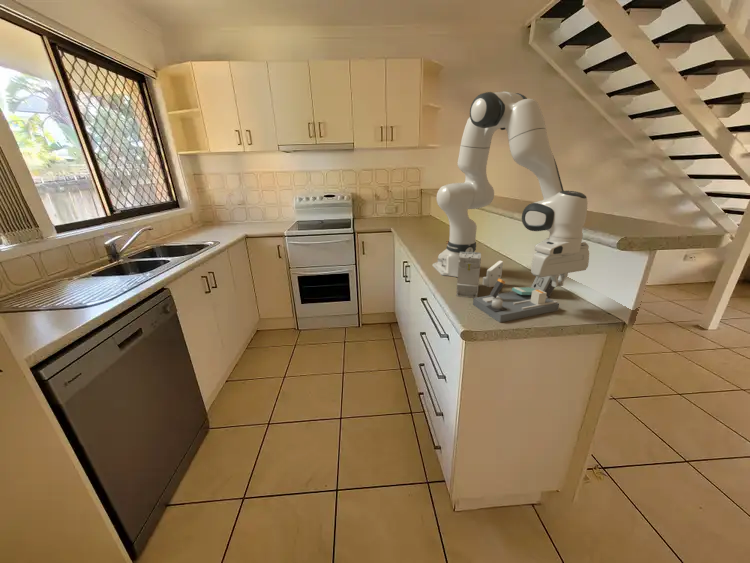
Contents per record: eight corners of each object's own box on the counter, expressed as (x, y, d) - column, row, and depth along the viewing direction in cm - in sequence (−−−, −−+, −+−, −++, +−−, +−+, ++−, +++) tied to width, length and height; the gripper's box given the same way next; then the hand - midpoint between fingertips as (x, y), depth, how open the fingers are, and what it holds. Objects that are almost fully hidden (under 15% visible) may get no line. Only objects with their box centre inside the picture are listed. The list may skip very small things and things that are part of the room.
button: (489, 306, 100) (490, 299, 99) (497, 304, 101) (498, 297, 100) (495, 310, 97) (496, 303, 96) (504, 308, 98) (505, 301, 97)
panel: (472, 304, 108) (473, 296, 107) (526, 295, 114) (527, 286, 113) (499, 322, 95) (500, 313, 94) (557, 310, 102) (559, 301, 101)
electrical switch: (530, 288, 120) (536, 265, 117) (544, 289, 120) (550, 267, 117) (539, 298, 112) (546, 274, 108) (554, 299, 111) (561, 275, 108)
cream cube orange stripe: (530, 301, 103) (532, 290, 101) (537, 300, 104) (539, 288, 102) (537, 305, 100) (539, 293, 99) (544, 303, 101) (546, 291, 100)
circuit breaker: (476, 284, 126) (480, 248, 121) (477, 297, 113) (481, 258, 108) (457, 282, 128) (460, 247, 123) (456, 296, 115) (458, 257, 110)
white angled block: (509, 277, 125) (503, 261, 121) (490, 292, 124) (483, 276, 120) (503, 275, 128) (496, 259, 124) (484, 289, 127) (477, 273, 123)
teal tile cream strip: (521, 295, 105) (522, 291, 105) (511, 290, 109) (512, 287, 109) (539, 294, 108) (540, 291, 107) (529, 289, 112) (530, 287, 111)
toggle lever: (489, 294, 105) (498, 278, 104) (492, 296, 106) (502, 280, 105) (492, 296, 104) (502, 279, 103) (496, 298, 104) (505, 281, 103)
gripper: (580, 239, 103) (572, 278, 107) (530, 246, 97) (525, 287, 102) (598, 243, 97) (589, 284, 102) (546, 250, 91) (540, 293, 96)
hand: (557, 286), depth 102 cm, fingers closed
